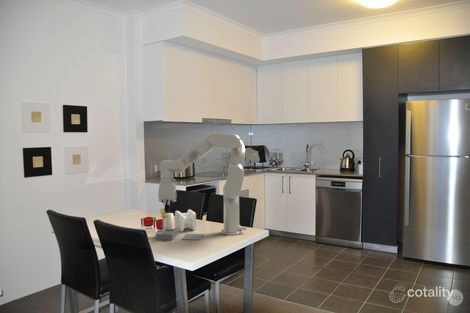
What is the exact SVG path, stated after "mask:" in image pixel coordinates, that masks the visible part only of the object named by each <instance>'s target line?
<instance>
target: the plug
mask: <svg viewBox="0 0 470 313" xmlns="http://www.w3.org/2000/svg"><path fill="white" fill-rule="evenodd" d="M166 214H167V217H166V231H174V229H175V228H176V227H175V214H174V213H173V212H166Z"/></svg>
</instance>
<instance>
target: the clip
mask: <svg viewBox="0 0 470 313" xmlns="http://www.w3.org/2000/svg"><path fill="white" fill-rule="evenodd" d="M166 213H167V212H166V211H165V208H160V215H161V218H163V217H167V214H166Z"/></svg>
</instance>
